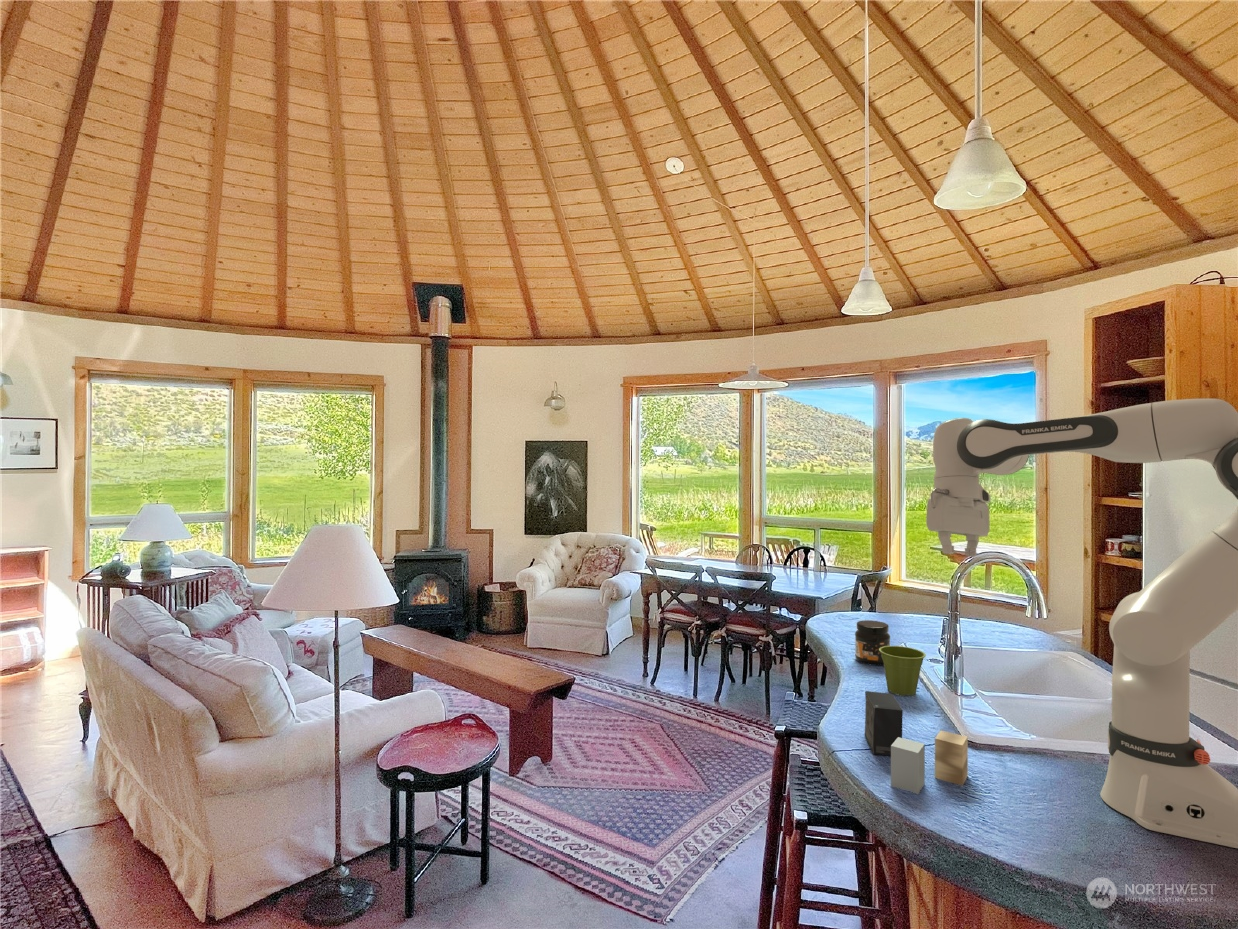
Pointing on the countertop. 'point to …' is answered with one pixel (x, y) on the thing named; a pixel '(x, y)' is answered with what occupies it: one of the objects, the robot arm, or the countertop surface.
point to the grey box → (908, 765)
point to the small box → (882, 721)
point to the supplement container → (871, 641)
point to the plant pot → (902, 668)
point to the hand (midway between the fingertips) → (959, 555)
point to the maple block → (951, 757)
